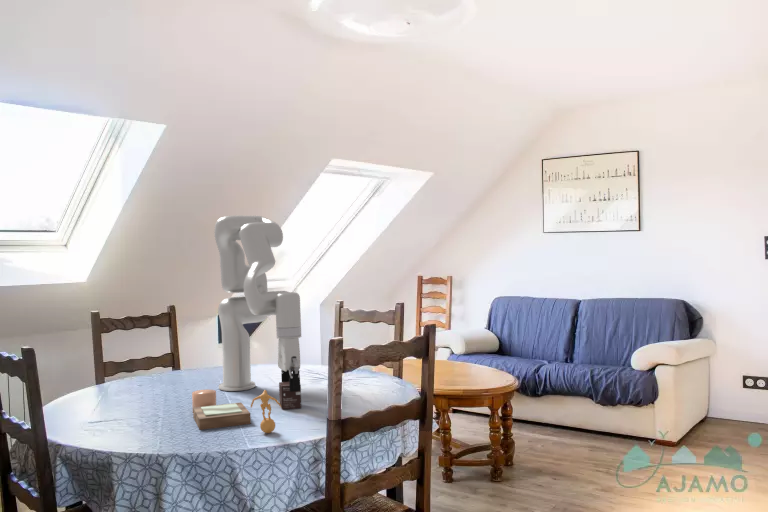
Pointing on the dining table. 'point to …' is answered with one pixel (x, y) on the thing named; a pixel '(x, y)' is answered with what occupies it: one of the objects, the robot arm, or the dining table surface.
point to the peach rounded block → (203, 398)
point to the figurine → (267, 423)
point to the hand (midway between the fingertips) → (290, 388)
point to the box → (289, 397)
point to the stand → (221, 416)
